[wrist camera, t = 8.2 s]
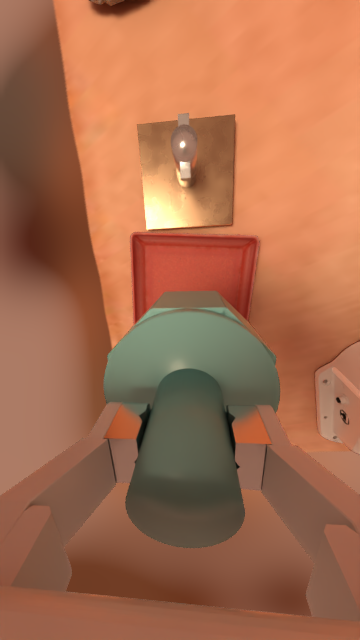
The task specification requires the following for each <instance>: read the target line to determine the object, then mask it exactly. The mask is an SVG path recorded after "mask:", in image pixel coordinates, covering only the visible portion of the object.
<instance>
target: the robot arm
mask: <svg viewBox="0 0 360 640" xmlns="http://www.w3.org/2000/svg"><path fill="white" fill-rule="evenodd" d="M323 380H324V381H323ZM315 388H316V407H317V426H318V432H319V434H320V435H321V436H322V437H324V438H326V439H328V440H330V441H334V442H338V443H344V444H345V445H346V446H347V447H348V448H349V449H350V450H352V451H353V452H355V453H356V454H359V455H360V341H359V342H357V343H355V344H353V345H351V346H350V347H348V348H347V349H345V350H344V351H343V352H342V353H341V354H340V355H339V356H338V357H337V358H336V359H335V360H333V361H332V362H331V363H329V364H326V365H324V366H323V367H321V368H319V369H318V370H317V371H316V372H315ZM150 412H151V407H150V404H149V403H134V402H109V403H108V404H107V405H106V407H105V409H104V410H103V412H102V413H101V415H100V417H99V418H98V420H97V422H96V424H95V425H94V427H93V429H92V430H91V432H90V434H89V435H88V437H87V438H82V439H81V440H79V441H78V442H76V443H75V444H74V445H72V446H71V447H69V448H68V449H66V450H65V451H63V452H62V453H61V454H59V455H58V456H56V457H55V458H54V459H52V460H51V461H49V462H48V463H46V464H45V465H43V466H42V467H41V468H39V469H38V470H36V471H35V472H34V473H32V474H31V475H29V476H28V477H26V478H25V479H24V480H22V481H21V482H19V483H18V484H17V485H15V486H14V487H12V488H11V489H9V490H8V491H6V492H5V493H4V494H2V495H1V496H0V640H360V495H359V494H358V493H357V492H355V491H354V490H353V489H351V488H350V487H349V486H348V485H346V484H345V483H344V482H342V481H341V480H340V479H339V478H337V477H336V476H335V475H334V474H332V473H331V472H330V471H328V470H327V469H326V468H325V467H323V466H322V465H321V464H319V463H318V462H317V461H316V460H314V459H313V458H312V457H311V456H309V455H308V454H307V453H305V452H304V451H303V450H302V449H300V448H299V447H298V446H292V445H291V443H290V441H289V439H288V437H287V435H286V433H285V431H284V429H283V427H282V425H281V423H280V421H279V419H278V418H277V416H276V414H275V412H274V410H273V408H272V406H270V405H227V406H226V416H227V421H228V426H229V431H230V436H231V442H232V447H233V452H234V457H235V462H236V468H237V473H238V478H239V483H240V488H241V489H249V490H261V491H262V493H263V495H264V496H265V497H266V499H267V500H268V502H269V503H270V504H271V506H272V507H273V508H274V510H275V511H276V512H277V514H278V515H279V516H280V518H281V519H282V520H283V522H284V523H285V524H286V526H287V527H288V529H289V530H290V531H291V533H292V534H293V535H294V536H295V538H296V539H297V541H298V542H299V543H300V545H301V546H302V547H303V549H304V550H305V551H306V553H307V554H308V555H309V557H310V558H311V560H312V561H313V562H314V567H313V571H312V575H311V578H310V581H309V585H308V589H307V592H306V598H307V601H308V604H309V607H310V610H311V613H312V617H310V616H300V615H290V614H280V613H270V612H259V611H250V610H241V609H231V608H221V607H211V606H202V605H191V604H181V603H172V602H161V601H152V600H143V599H132V598H123V597H113V596H103V595H93V594H82V593H73V592H65V591H66V588H67V585H68V583H69V580H70V578H71V575H72V571H71V566H70V563H69V560H68V557H67V555H66V552H65V549H64V547H65V545H66V544H67V543H68V542H69V540H70V539H71V538H72V537H73V536H74V535H75V533H76V532H77V531H78V530H79V529H80V527H81V526H82V525H83V524H84V523H85V521H86V520H87V519H88V518H89V516H90V515H91V514H92V513H93V512H94V510H95V509H96V508H97V507H98V506H99V505H100V503H101V502H102V501H103V500H104V499H105V497H106V496H107V495H108V494H109V493H110V491H111V490H112V489H113V488H114V487H115V485H116V483H130V482H131V478H132V475H133V471H134V468H135V464H136V461H137V457H138V454H139V450H140V447H141V443H142V440H143V436H144V433H145V429H146V426H147V422H148V419H149V416H150Z"/></svg>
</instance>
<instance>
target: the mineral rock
mask: <svg viewBox="0 0 360 640" xmlns="http://www.w3.org/2000/svg"><path fill="white" fill-rule="evenodd" d="M89 1H91V2H93V3H96V4H103V3H104V2H105V3H107V4H108V5H110V6H112V5H114V4H117V3H120V2H122V1H124V0H89Z"/></svg>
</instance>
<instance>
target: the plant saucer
mask: <svg viewBox="0 0 360 640" xmlns="http://www.w3.org/2000/svg"><path fill="white" fill-rule="evenodd" d="M259 244H260V241H259V238H258V236H255V235H225V234H189V233H154V232H134V233H132V234H131V236H130V252H131V277H132V300H133V326H134V325H135V323H136V322H137V321H138V320H139V319H140V318H141V317H142V316H143V315H144V314H145V313H146V312H147V310H148V309H149V308H150V307H151V306H152V305H153V304H154V303H155V302H156V301H157V300H158V299H159V297H160V296H161V295H162V294H163V293H164V292H174V291H216V292H218V293H219V294H220V295H221V296H222V297H223V298H224V299H225V300H226V301H227V302H228V303H229V304H231V305H232V306H233V307H234V308H235V309H236V310H237V311H238V312H239V313H240V314H241V315H242V316H243V317H244V318H245V319H246V320H247V321H248V320H249V313H250V306H251V299H252V292H253V285H254V278H255V272H256V265H257V258H258V251H259Z"/></svg>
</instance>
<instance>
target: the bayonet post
mask: <svg viewBox="0 0 360 640" xmlns="http://www.w3.org/2000/svg"><path fill="white" fill-rule="evenodd" d="M137 129H138V140H139V150H140V161H141V172H142V183H143V194H144V204H145V215H146V226H147V230H164V229H181V228H197V227H213V226H230V225H231V224H232V204H233V169H234V135H235V114H234V115H225V116H215V117H205V118H195V119H189V113H186V114H178V120H176V121H166V122H156V123H147V124H137Z"/></svg>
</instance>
